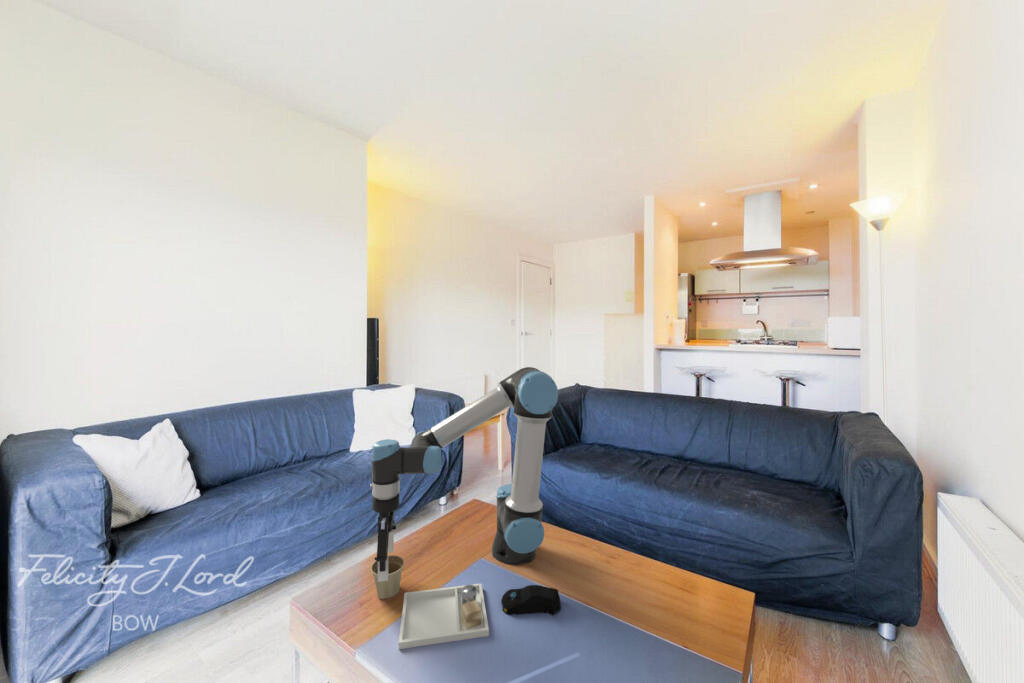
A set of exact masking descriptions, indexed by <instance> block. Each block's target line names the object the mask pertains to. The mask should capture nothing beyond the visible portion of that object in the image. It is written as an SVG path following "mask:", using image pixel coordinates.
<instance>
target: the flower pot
mask: <svg viewBox="0 0 1024 683" xmlns="http://www.w3.org/2000/svg"><path fill="white" fill-rule="evenodd" d="M387 556H388V581H380V582H378V562H377V561H376V560H374V562H372V564H371V566H370V572H371V574H372V575H373V579H374V583H375V589H376V594H377V597H378V598H379V599H380V600H383V599H391V598H393V597H395V596H396V595H398V593H400V588H401V587H400V586H401V577H402V571H403V569H404V567H405V560H404V558H403V557H402V556H399V555H396V554H395V555H393V554H392V555H387Z"/></svg>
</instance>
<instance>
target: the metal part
mask: <svg viewBox="0 0 1024 683" xmlns="http://www.w3.org/2000/svg"><path fill="white" fill-rule="evenodd" d="M463 586H464V585H463ZM475 600H476V587H475V586H473V585H472V584H466V586H464V587H463V588H462V604H465V603H468V602H471V601H475Z"/></svg>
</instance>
